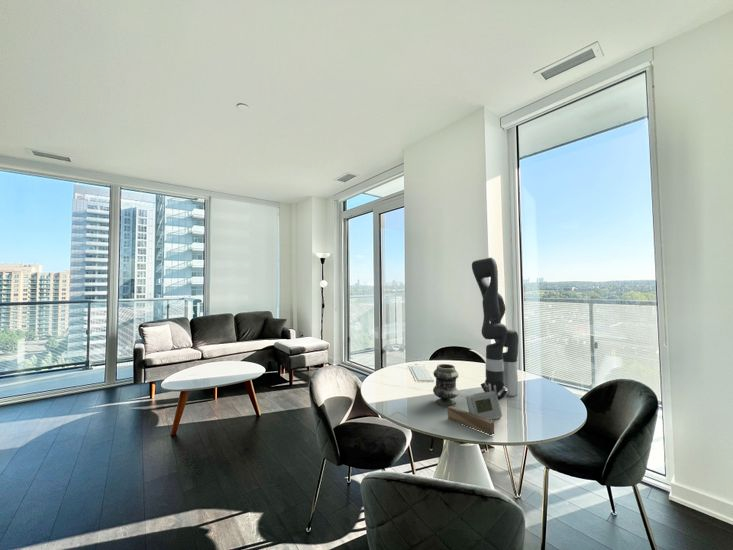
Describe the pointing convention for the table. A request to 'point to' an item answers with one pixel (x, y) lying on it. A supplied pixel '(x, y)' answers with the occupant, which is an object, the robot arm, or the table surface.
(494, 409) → the digital clock
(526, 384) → the table surface
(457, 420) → the walnut board
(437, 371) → the stone urn vase
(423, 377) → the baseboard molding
